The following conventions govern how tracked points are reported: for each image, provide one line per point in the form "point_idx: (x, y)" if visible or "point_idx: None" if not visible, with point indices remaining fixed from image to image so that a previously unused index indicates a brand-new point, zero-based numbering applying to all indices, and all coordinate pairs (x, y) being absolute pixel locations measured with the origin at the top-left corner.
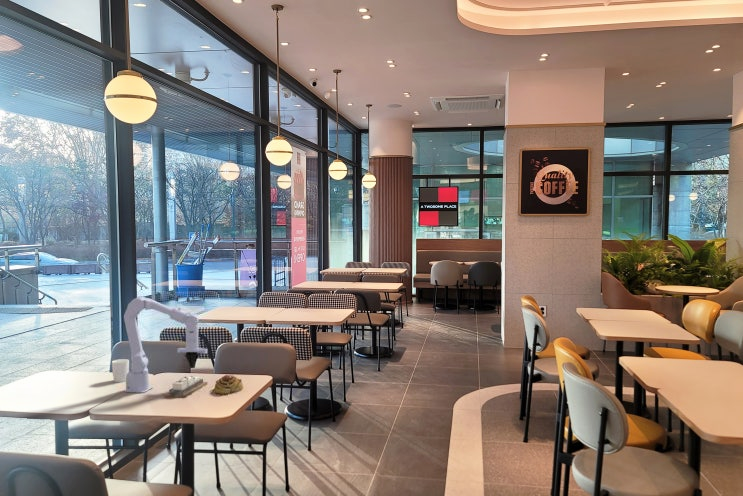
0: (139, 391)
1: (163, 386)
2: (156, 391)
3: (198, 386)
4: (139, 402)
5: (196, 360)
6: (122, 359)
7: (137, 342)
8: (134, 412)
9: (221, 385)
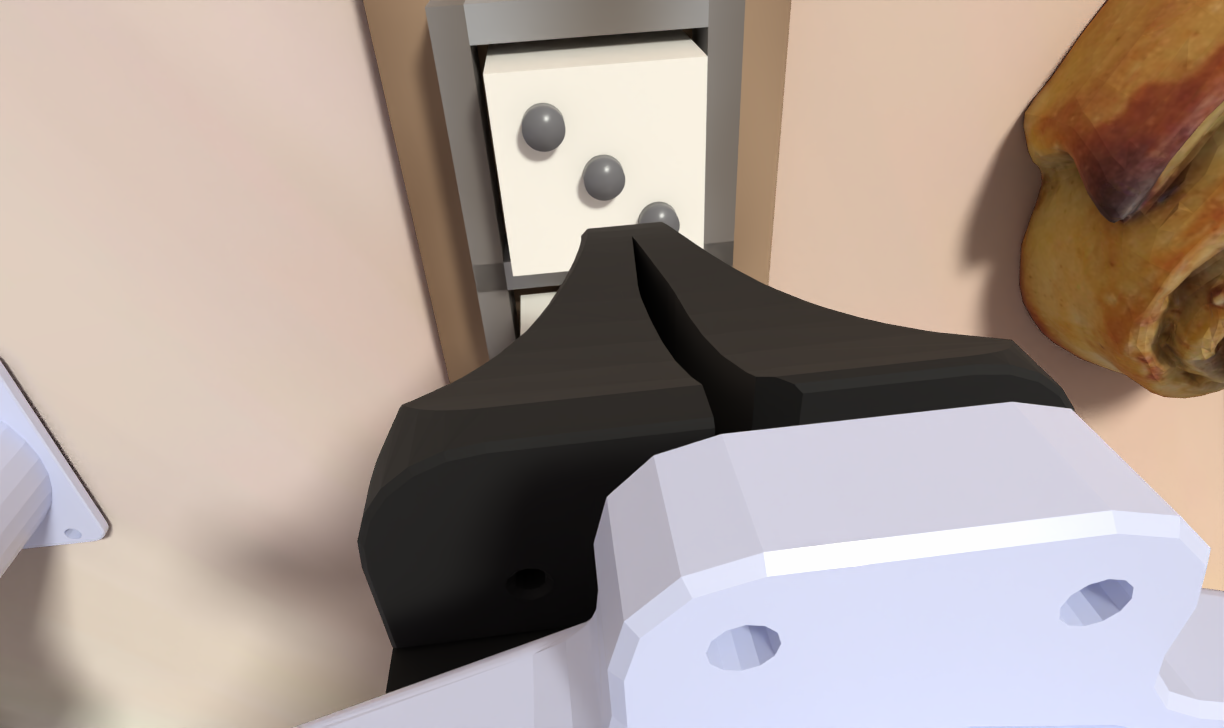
0: (41, 539)
1: (60, 226)
2: (213, 440)
3: (746, 215)
4: (377, 695)
5: (762, 293)
6: None
7: None
8: None
9: (1221, 381)
